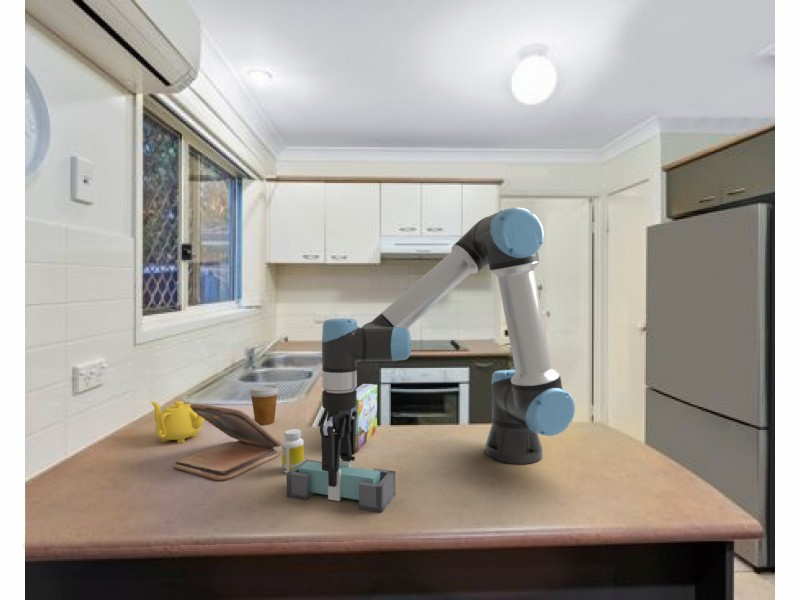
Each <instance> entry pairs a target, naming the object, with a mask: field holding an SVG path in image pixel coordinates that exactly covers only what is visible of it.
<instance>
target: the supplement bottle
mask: <svg viewBox="0 0 800 600" xmlns="http://www.w3.org/2000/svg"><path fill="white" fill-rule="evenodd" d="M301 437H302V431H301V429H298V428H294V429H293V428H292V429H288V430H285V431H284V440H283V441H282V442H281V462H282V463H281V464H282V465H281V466H282V467H281V469H282V472H283V473H285V474H286V473H288V472H289V471H291V470H292V469H293V468H295V467H296V466H298V465H299V464H301V463H302V462H304V461H305V444H304V443H305V441H304V439H303V438H301Z"/></svg>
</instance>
